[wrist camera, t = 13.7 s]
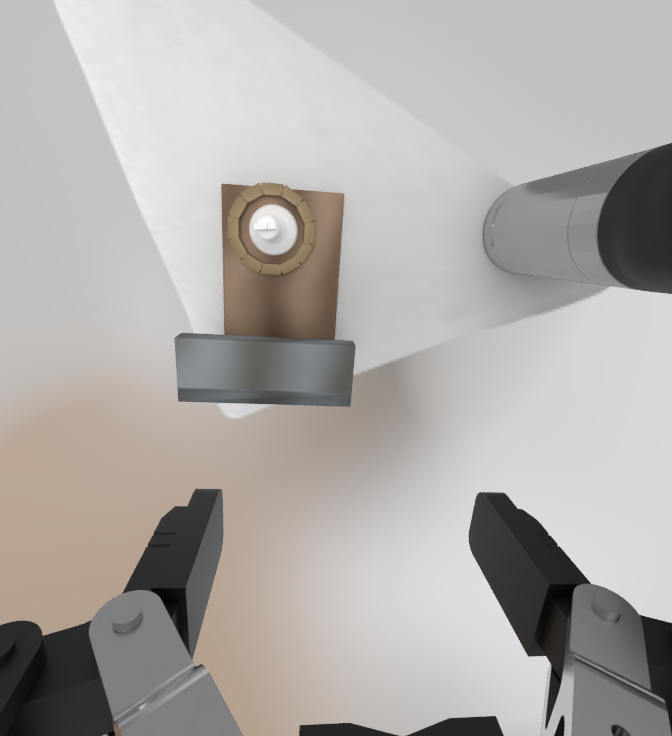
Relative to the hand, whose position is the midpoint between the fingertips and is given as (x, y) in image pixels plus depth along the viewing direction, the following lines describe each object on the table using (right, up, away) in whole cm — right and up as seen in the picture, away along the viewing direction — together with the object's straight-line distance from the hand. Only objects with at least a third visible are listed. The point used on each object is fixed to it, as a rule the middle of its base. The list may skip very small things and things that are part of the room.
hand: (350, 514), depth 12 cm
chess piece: (-7, +19, +27) cm, 34 cm away
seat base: (-6, +15, +30) cm, 34 cm away
